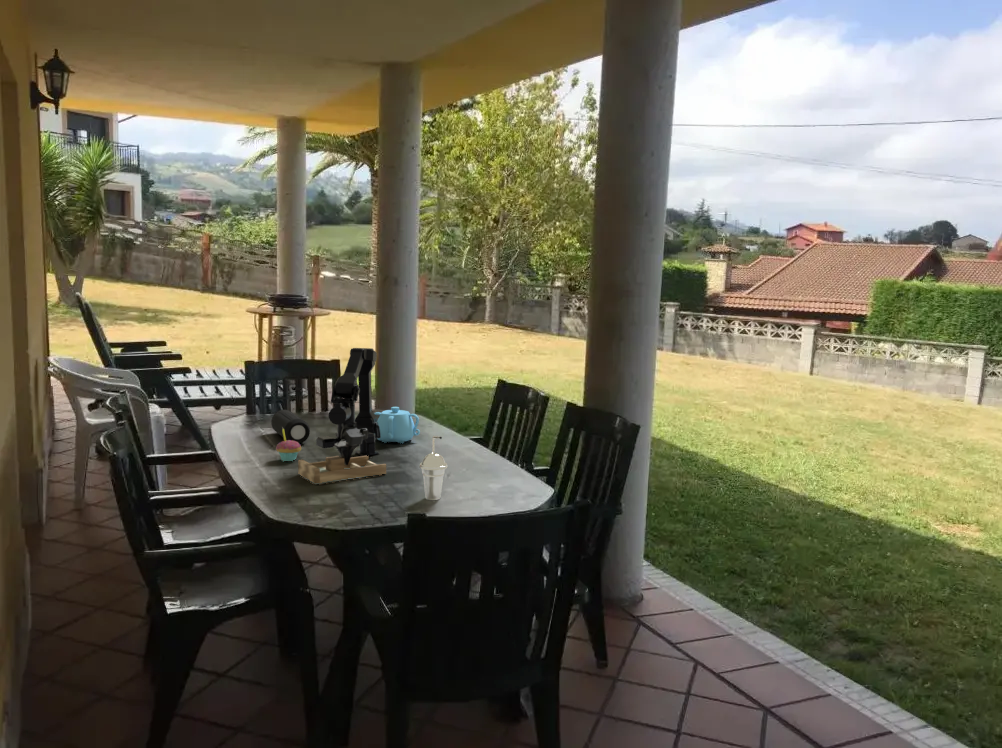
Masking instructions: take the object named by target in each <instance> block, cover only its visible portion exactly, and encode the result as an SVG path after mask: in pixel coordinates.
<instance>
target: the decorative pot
mask: <svg viewBox="0 0 1002 748" xmlns="http://www.w3.org/2000/svg"><path fill="white" fill-rule="evenodd" d="M374 414H375V415H376V416H377V415H378V416H379V417H378V418H377V422H378V425H379V427H380V433H381V438H378V439H377V440H378V441H380V442H381V443H382V442H384V443H383V444H387V442H388V443H391V442H393V443H396V442H397V444H398V443H400V444H401V443H402V444H403V443H404V444H405V442H409V441H410V440H412V439H413V437H414V436H417V437H418V436H419V435H420V433H421V430H420V429H418V426H419V423H420V418H419V416H418V415H417V414H416V413H410V411H408V410H403V409H400V407H399V406H392V407H390V409H386V410H383V411H381V412H380V411H376V412H374ZM413 417H414V418H415V423H414V419H413ZM416 431H417V432H416ZM402 444H401V445H402Z"/></svg>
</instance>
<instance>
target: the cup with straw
mask: <svg viewBox="0 0 1002 748" xmlns="http://www.w3.org/2000/svg"><path fill="white" fill-rule="evenodd" d="M442 438H443V437H442V436H436V435H433V436H432V438H431V441H432V442H431V453H428V454H426V455H425V456H424V457H423V458H422V461H421V462H420V463H419V465H418V466H419V468H420V469H421V473H422V476H423V484H424V485H423V488H424V494H425V499H426V500H429V501H438V500H440V499H441V495H442V490H443V489H442V488H443V480H444V475H445V472H446V469H447V468H448V463H447V462H446V461H445V459H444V457H443V455H441V454H439V453H437V452H435V445H436V443H435V441H436V439H438V440H442Z"/></svg>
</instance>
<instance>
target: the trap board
mask: <svg viewBox="0 0 1002 748" xmlns="http://www.w3.org/2000/svg"><path fill="white" fill-rule="evenodd" d="M369 456H370V455H368V456H362V455H360V456H354V457H353V456H351V458H350V460H349V463H348V465H345V464H344V468H350V469H343V470H336V471H328V470H326V460H323V461H314V462H308V461H306V460H305V459H298V461H297V463H298V464H297V465H298V466H297V467H298V468H297V472H298V473H297V474H300V475H301V476H303V477H305V478H307V479H309V480H310V481H312V482H314V483H322V482H327V481H333V480H341V479H348V478H356V477H364V476H373V475H379V476H383V475H382V474H386V475H387V464H386V463H380V464H377V463H375V462H373V461H371V460H369V459H370V458H369ZM365 465H366V466H365ZM361 466H364V467H361ZM301 476H300V477H301ZM303 477H302V478H303ZM373 477H374V476H373Z"/></svg>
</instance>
